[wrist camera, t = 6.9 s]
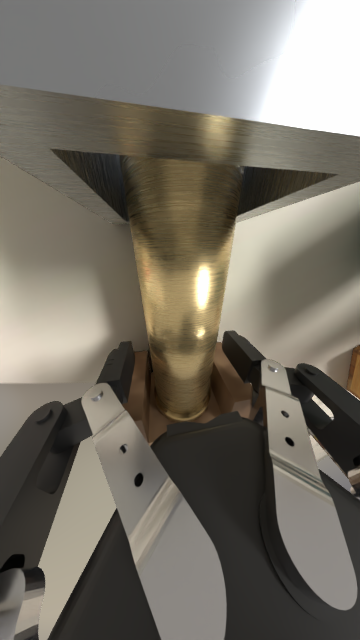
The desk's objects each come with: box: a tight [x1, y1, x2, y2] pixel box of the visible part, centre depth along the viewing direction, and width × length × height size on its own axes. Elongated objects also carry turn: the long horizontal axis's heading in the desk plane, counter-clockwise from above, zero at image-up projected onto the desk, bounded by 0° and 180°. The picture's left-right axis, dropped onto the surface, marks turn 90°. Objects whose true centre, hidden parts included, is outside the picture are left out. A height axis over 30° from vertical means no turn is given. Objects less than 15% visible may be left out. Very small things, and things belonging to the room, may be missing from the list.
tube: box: [119, 155, 245, 423], centre depth 9 cm, size 16×5×5 cm, turn 1°
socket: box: [122, 342, 252, 446], centre depth 13 cm, size 10×4×6 cm, turn 91°
